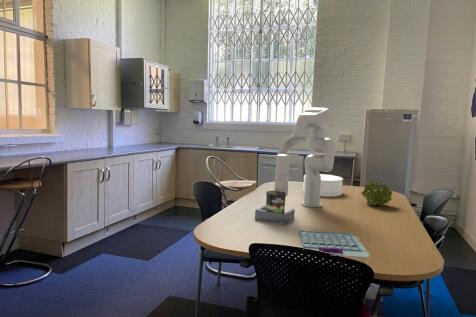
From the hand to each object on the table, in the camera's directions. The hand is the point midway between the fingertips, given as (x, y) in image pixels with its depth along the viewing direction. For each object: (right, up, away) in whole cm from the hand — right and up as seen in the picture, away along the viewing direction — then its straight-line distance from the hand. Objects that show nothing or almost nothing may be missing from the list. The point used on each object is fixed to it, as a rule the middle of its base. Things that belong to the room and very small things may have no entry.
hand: (280, 209), depth 199 cm
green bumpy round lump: (+65, -2, +32) cm, 72 cm away
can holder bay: (-4, -4, -7) cm, 8 cm away
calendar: (+17, -9, -43) cm, 47 cm away
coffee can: (-4, -4, -7) cm, 9 cm away
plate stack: (+39, +3, +68) cm, 79 cm away
